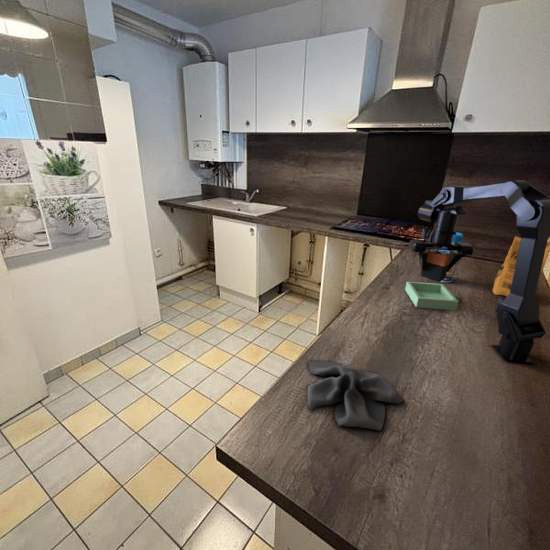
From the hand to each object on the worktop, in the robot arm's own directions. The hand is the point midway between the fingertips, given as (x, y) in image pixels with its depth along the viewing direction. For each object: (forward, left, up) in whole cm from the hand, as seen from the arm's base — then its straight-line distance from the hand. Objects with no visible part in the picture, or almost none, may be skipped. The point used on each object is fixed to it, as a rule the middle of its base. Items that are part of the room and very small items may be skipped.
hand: (434, 271), depth 100 cm
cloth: (-48, +33, -12) cm, 60 cm away
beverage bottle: (+23, -13, -12) cm, 29 cm away
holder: (+2, -1, -12) cm, 12 cm away
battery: (0, 0, -3) cm, 3 cm away
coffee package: (+12, -34, -12) cm, 38 cm away
